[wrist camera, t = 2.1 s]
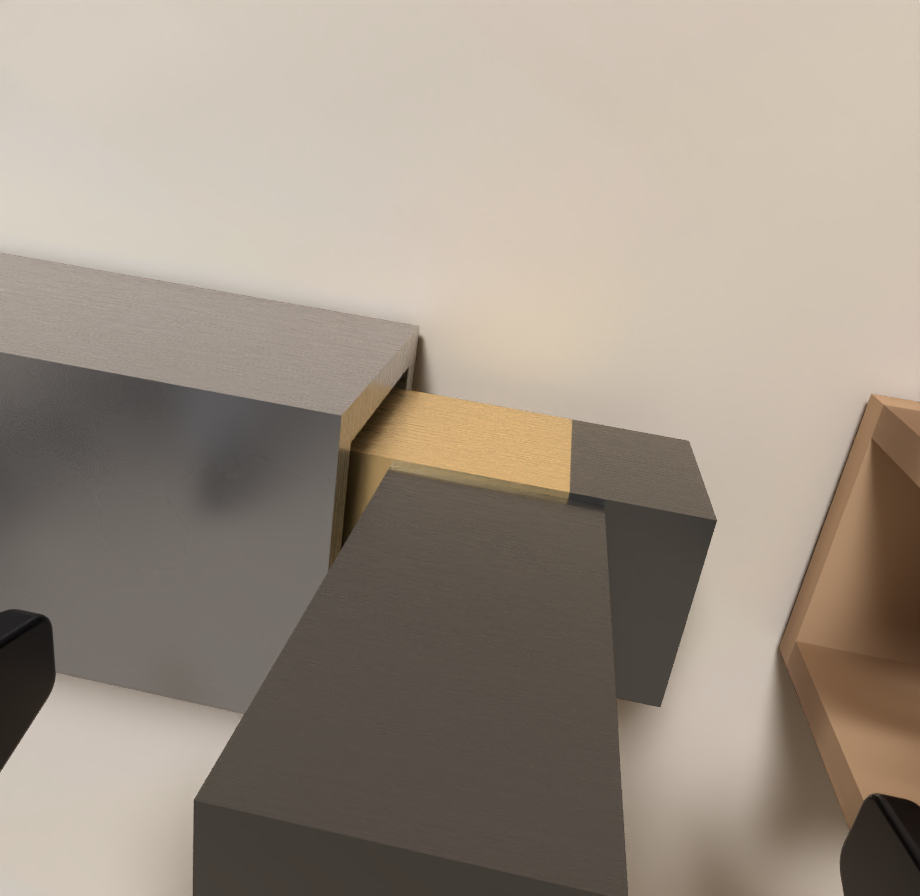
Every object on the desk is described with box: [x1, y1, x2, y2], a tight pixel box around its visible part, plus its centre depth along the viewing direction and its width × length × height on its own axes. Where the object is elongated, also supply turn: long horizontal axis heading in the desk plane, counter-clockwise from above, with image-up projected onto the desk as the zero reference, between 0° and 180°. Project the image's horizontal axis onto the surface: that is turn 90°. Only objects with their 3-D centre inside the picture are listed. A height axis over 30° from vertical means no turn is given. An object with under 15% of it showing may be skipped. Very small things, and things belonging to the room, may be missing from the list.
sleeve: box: [0, 253, 419, 714], centre depth 13 cm, size 10×5×5 cm, turn 82°
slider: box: [193, 387, 717, 896], centre depth 10 cm, size 15×3×9 cm, turn 82°
